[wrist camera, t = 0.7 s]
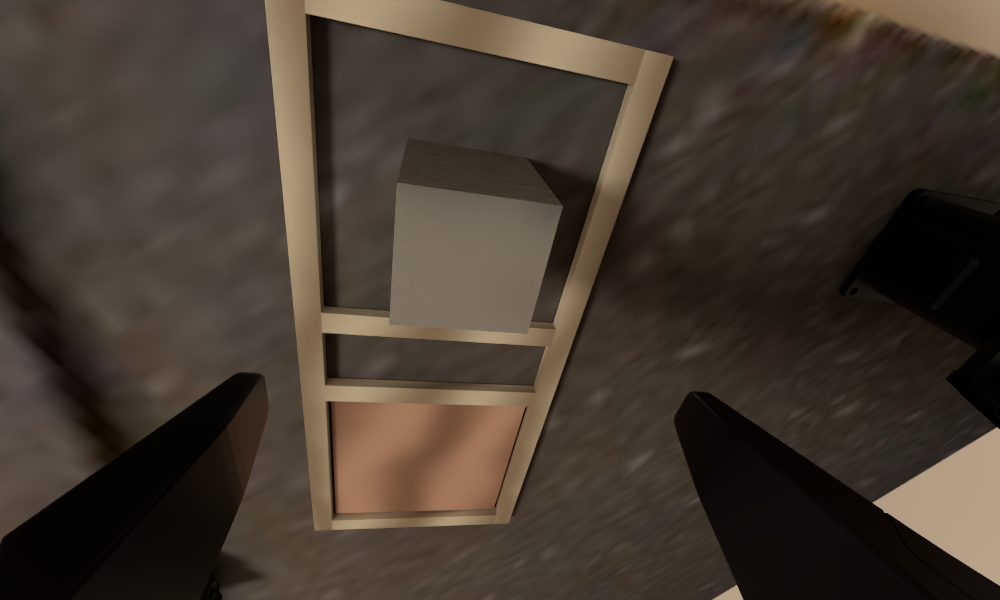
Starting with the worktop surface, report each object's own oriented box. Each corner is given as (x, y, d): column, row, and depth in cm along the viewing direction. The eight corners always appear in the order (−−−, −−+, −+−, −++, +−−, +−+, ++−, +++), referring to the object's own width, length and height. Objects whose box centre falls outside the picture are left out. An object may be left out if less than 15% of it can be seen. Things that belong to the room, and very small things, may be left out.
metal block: (526, 157, 18) (562, 206, 13) (504, 260, 20) (527, 333, 15) (407, 138, 16) (396, 182, 11) (400, 248, 19) (389, 324, 14)
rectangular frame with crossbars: (666, 55, 16) (674, 56, 16) (507, 515, 33) (508, 523, 32) (267, -40, 13) (260, -43, 12) (316, 522, 30) (314, 530, 29)
